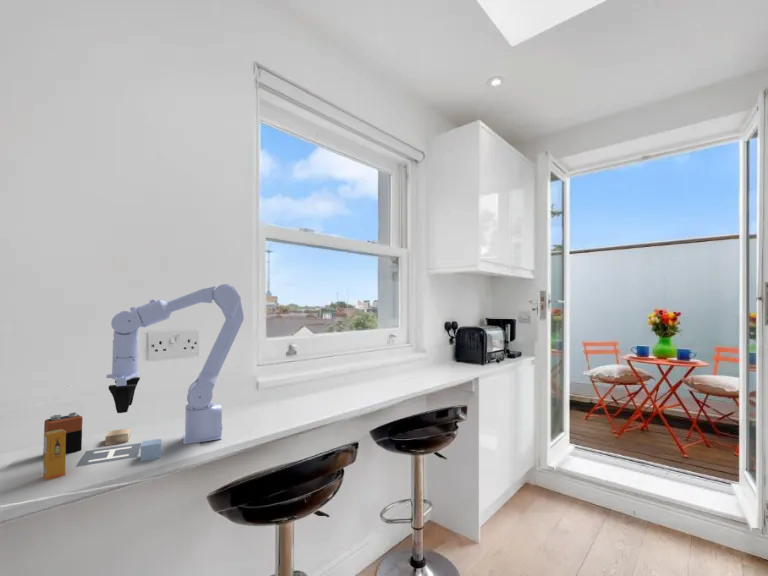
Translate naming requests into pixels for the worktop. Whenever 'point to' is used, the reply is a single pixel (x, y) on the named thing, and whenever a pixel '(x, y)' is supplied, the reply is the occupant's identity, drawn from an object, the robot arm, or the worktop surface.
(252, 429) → the worktop surface
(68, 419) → the battery
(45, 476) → the supplement box
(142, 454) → the blue cube
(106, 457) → the letter mat
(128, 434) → the oak block
